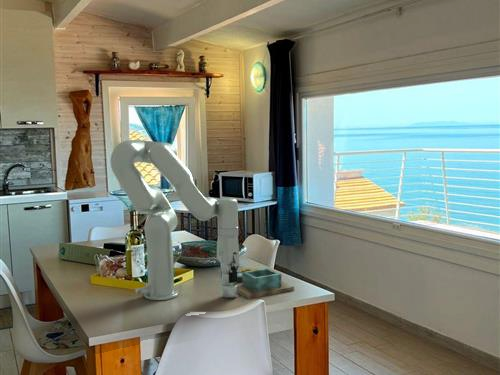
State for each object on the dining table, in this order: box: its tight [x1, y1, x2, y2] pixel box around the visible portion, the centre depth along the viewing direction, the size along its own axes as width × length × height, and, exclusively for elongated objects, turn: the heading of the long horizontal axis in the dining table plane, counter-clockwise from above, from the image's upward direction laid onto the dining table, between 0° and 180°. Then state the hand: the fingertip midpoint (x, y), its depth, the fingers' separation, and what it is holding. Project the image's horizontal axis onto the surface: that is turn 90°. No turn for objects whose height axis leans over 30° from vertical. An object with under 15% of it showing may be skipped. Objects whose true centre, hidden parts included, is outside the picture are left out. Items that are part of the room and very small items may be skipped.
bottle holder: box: [237, 267, 295, 300], centre depth 211 cm, size 20×15×6 cm
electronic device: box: [237, 267, 259, 284], centre depth 227 cm, size 8×16×3 cm, turn 163°
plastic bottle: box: [219, 255, 239, 299], centre depth 202 cm, size 6×7×20 cm
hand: (229, 279), depth 202 cm, fingers closed on plastic bottle, 5 cm apart
